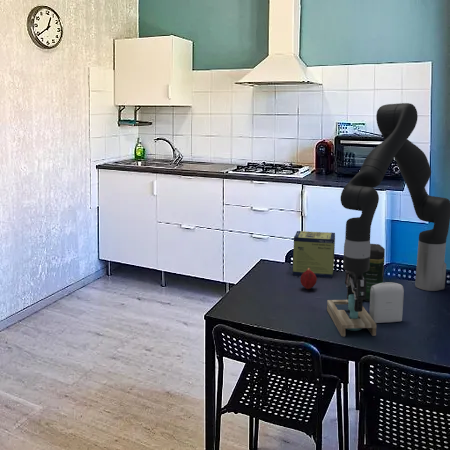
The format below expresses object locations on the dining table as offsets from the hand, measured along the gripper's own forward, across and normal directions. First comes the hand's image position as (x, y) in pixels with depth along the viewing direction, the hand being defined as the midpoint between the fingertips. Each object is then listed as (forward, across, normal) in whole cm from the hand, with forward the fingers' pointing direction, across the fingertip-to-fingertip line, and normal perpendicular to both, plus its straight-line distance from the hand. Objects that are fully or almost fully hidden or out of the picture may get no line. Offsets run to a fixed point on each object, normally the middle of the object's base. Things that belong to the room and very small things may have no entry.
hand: (354, 305), depth 164 cm
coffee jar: (+7, +25, -12) cm, 29 cm away
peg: (+7, 0, 0) cm, 7 cm away
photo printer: (+7, +4, -11) cm, 14 cm away
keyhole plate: (+7, +4, 0) cm, 8 cm away
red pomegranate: (+7, +34, +8) cm, 35 cm away
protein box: (+7, +53, +2) cm, 53 cm away
